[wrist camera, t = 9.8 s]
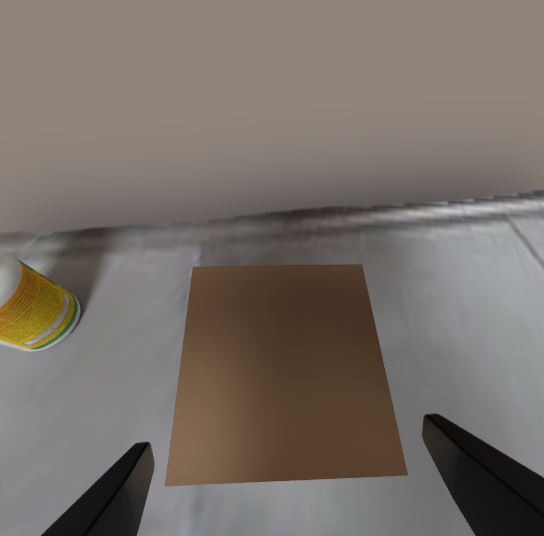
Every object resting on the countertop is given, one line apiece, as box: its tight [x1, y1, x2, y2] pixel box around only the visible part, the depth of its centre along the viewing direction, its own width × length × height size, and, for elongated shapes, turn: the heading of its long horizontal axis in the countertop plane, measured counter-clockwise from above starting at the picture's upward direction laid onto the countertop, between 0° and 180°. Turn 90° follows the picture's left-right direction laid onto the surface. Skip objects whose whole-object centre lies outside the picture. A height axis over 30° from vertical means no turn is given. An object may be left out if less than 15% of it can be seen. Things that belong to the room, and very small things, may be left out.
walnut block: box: [165, 264, 408, 486], centre depth 12 cm, size 5×5×12 cm
